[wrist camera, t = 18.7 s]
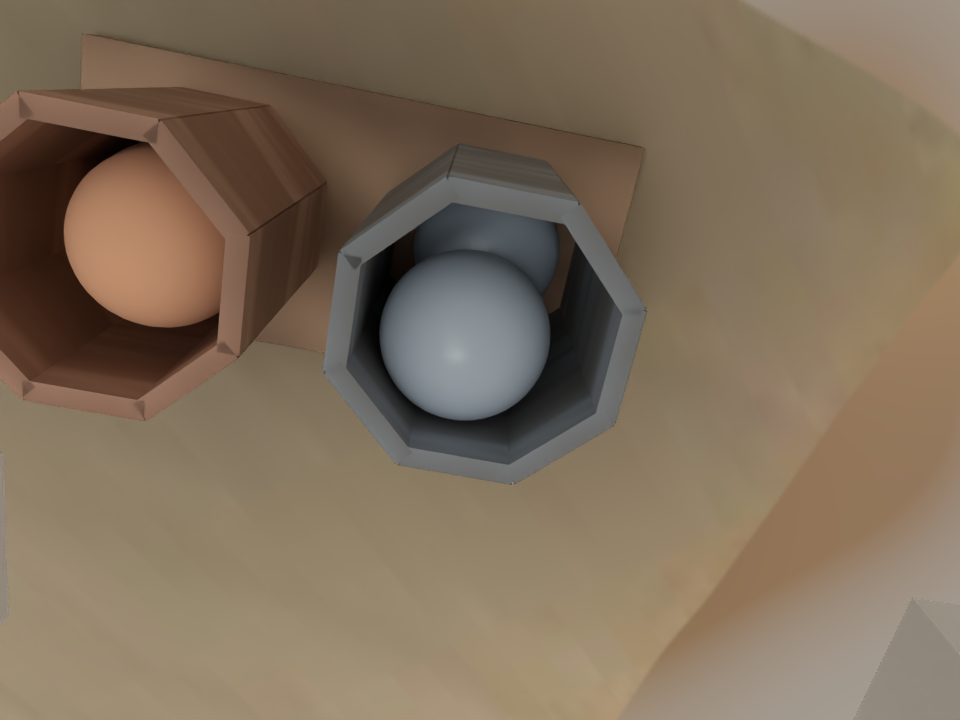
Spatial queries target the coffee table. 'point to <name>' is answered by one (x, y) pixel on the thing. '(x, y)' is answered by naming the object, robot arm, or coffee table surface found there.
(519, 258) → the slate ball
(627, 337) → the twin cylinders
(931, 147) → the coffee table surface
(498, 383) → the slate ball
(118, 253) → the terracotta ball
